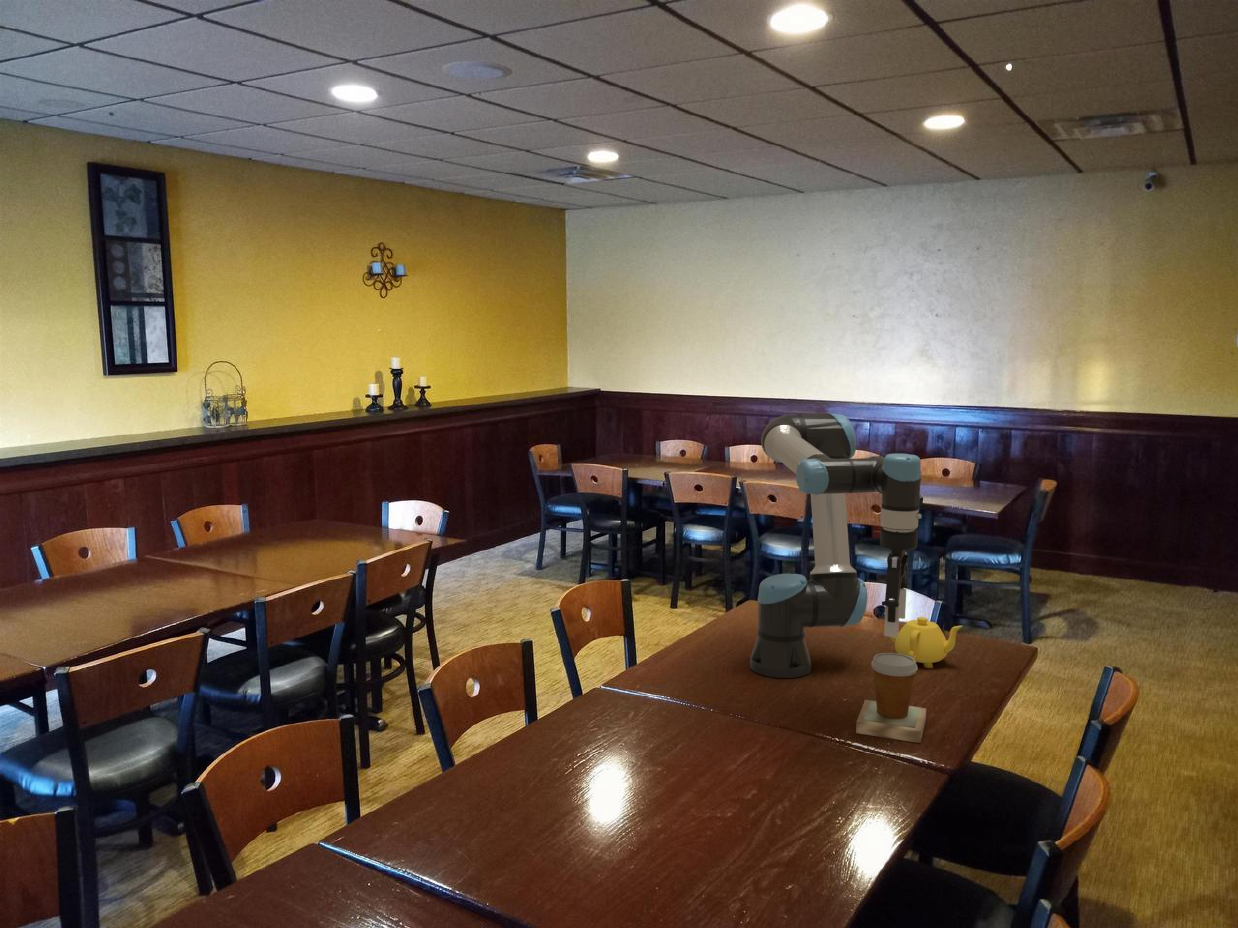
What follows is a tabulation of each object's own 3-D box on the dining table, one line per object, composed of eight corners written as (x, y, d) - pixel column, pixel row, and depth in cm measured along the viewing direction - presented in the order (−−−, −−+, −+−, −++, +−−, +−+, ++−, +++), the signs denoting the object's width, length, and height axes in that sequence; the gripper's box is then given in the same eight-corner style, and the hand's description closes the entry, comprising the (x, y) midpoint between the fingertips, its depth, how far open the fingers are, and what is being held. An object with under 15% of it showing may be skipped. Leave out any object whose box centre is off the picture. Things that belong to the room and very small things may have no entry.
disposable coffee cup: (917, 724, 195) (920, 668, 193) (870, 720, 196) (872, 665, 195) (913, 706, 204) (915, 653, 202) (867, 703, 206) (870, 650, 204)
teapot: (871, 662, 239) (873, 619, 238) (890, 647, 252) (891, 605, 250) (951, 678, 228) (954, 633, 227) (967, 661, 241) (969, 618, 239)
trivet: (856, 732, 197) (856, 720, 197) (864, 710, 209) (865, 698, 208) (920, 742, 192) (921, 729, 192) (925, 719, 204) (926, 707, 204)
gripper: (912, 542, 182) (907, 647, 185) (923, 518, 205) (918, 612, 208) (872, 539, 185) (868, 642, 188) (887, 516, 208) (884, 608, 211)
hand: (894, 626), depth 198 cm, fingers open, 13 cm apart
